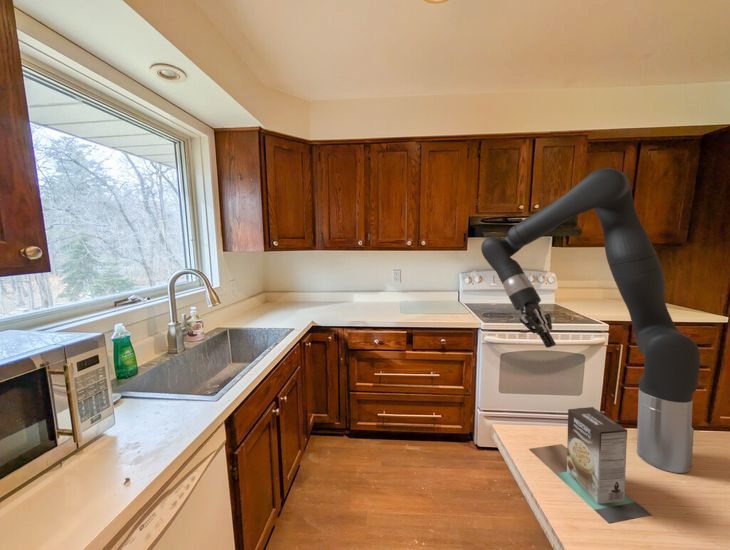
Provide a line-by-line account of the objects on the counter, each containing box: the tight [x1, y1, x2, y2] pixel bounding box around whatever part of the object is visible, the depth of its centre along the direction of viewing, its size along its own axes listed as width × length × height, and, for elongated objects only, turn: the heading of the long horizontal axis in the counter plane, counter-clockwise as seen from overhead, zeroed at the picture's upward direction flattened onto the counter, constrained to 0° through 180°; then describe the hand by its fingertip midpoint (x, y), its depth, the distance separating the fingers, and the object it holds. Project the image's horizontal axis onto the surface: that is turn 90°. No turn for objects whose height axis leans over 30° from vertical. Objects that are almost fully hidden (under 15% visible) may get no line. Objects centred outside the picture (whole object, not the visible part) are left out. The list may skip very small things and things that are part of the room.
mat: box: [528, 443, 653, 524], centre depth 68 cm, size 10×22×1 cm, turn 9°
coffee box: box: [566, 406, 628, 504], centre depth 64 cm, size 9×6×16 cm
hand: (551, 346), depth 81 cm, fingers closed
